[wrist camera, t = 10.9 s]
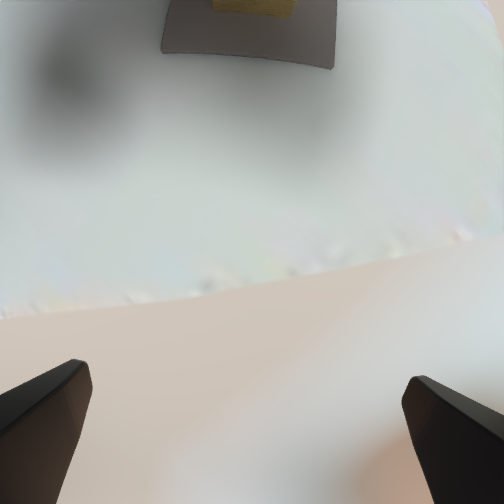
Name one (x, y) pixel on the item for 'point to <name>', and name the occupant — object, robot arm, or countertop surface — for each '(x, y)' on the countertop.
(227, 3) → the brass plug
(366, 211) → the countertop surface
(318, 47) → the rubber mat
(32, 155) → the countertop surface
